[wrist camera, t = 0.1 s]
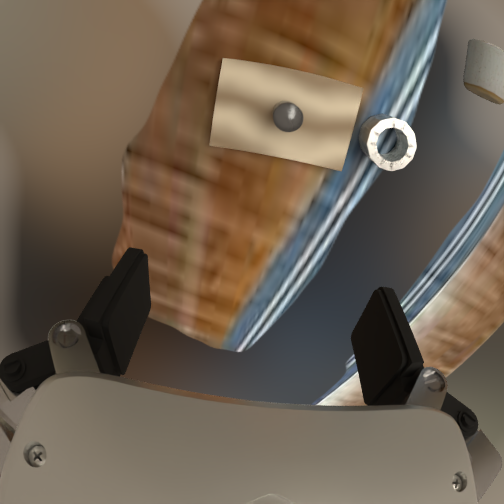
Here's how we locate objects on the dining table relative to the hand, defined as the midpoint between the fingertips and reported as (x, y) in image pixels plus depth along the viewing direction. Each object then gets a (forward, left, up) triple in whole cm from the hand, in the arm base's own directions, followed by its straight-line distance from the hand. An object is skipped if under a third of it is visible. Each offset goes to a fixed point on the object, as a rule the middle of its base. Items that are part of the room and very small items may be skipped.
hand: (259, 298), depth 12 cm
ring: (-4, +16, -31) cm, 35 cm away
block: (-4, +2, -31) cm, 31 cm away
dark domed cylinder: (-4, +2, -30) cm, 30 cm away
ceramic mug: (-21, +30, -31) cm, 48 cm away
